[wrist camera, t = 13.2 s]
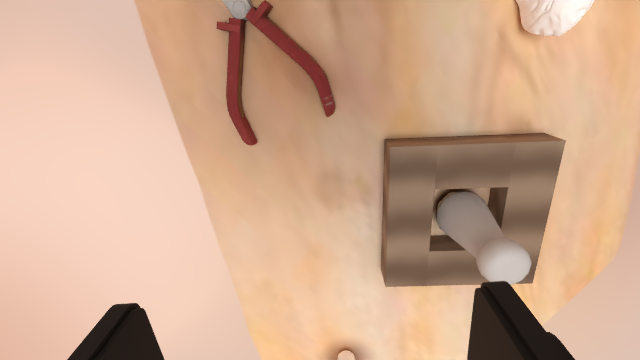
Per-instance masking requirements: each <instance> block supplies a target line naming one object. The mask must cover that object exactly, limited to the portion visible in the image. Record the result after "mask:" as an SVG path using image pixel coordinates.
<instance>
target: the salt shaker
mask: <svg viewBox="0 0 640 360" xmlns="http://www.w3.org/2000/svg"><path fill="white" fill-rule="evenodd" d="M436 218H437V222H438V224H439V227H440V229H441V230H442V231H443V232H445V233H446V234H447V235H448V236H450V237H451V238H452V239H453V240H454V241H456V242H457V243H458V244H459V245H461V246H462V247H463V248H464V249H465V250H467V251H468V252H469V253H470V254H472V255H473V256H474V257H475V258H476V263H477V266H478V269H479V271H480V273H481V275H482V276H484V277H485V278H486V279H487V280H488V281H490V282H494V281H506V282H508V283H509V284H510V285H512V284H516V283H517V282H519V281H521V280H523V279H524V277H525V276H526V275H527V274H528V273H529V270H530V267H531V264H532V263H531V259H530V256H529V254H528V252H527V251H526V250H525V249H524V248H523V247H522V246H521V245H520V244H519V243H518V242H516V241H515V240H513V239H509V238H505V236H504V234H503V233H502V231H501V229H500V227H499V226H498V224H497V222H496V220H495V219H494V217H493V215H492V213H491V212H490V210H489V208H488V206H487V205H486V203H485V201H484V200H482V199H481V198H480V197H479V196H478V195H477V194H475V193H471V192H466V191H462V192H449V193H448V194H447V195H446V196H445V197H444V198H443V199H442V200H441V201H440V202H439V203H438V208H437V215H436Z"/></svg>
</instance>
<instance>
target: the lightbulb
mask: <svg viewBox="0 0 640 360" xmlns="http://www.w3.org/2000/svg"><path fill="white" fill-rule="evenodd" d="M338 360H355V357H354V354H353V353H352V352H350V351H342V352H340V353H339V355H338Z"/></svg>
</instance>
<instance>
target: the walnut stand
mask: <svg viewBox="0 0 640 360" xmlns="http://www.w3.org/2000/svg"><path fill="white" fill-rule="evenodd" d="M564 145H565V140H562V139H560V138H557V137H554V136H551V135H548V134H545V133H536V134H510V135H484V136H457V137H431V138H405V139H385V151H384V186H383V221H382V256H381V271H382V275H383V279H384V283H385V286H386V287H397V286H440V285H481V284H482V283H483V282H490V281H488V280H487V279H486V278H485V277H484V276H482V275H481V273H480V271H479V269H478V266H477V263H476V258H475V257H474V256H473V255H472V254H470V253H469V252H468V251H467V250H465V249H464V248H463V247H462V246H461V245H459V244H458V243H457V242H456V241H454V240H453V239H452V238H451V237H450V236H448V235H447V236H430V235H431V224H432V213H433V202H434V190H435V189H464V188H491V192H490V198H489V204H488V208H489V210H490V212H491V213H492V215H493V217H494V219H495V220H496V222H497V224H498V226H499V227H500V229H501V231H502V233H503V234H504V236H505V238H509V239H513V240H515V241H516V242H518V243H519V244H520V245H521V246H522V247H523V248H524V249H525V250H526V251H527V252H528V254H529V256H530V259H531V263H532V264H531V267H530V270H529V273H528V274H527V275H526V276H525V277H524V279H523V280H521V281H519V282H517V283H516V284H525V283H533V279H534V274H535V270H536V266H537V261H538V257H539V253H540V249H541V244H542V240H543V236H544V231H545V227H546V223H547V218H548V214H549V210H550V206H551V201H552V197H553V193H554V188H555V184H556V180H557V176H558V171H559V167H560V163H561V158H562V154H563V150H564Z"/></svg>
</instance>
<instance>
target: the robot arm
mask: <svg viewBox="0 0 640 360" xmlns="http://www.w3.org/2000/svg"><path fill="white" fill-rule="evenodd" d="M68 360H164V357H163V355H162V352H161V350H160V347H159V345H158V342H157V340H156V337H155V335H154V332H153V330H152V327H151V324H150V322H149V319H148V317H147V314H146V312H145V310H144V309H143V308H140V306H139V305H138V304H137V303H130V304H116V305H113V306H112V307H111V308H110V309H109V310H108V311H107V312H106V314H105V315H104V316H103V317H102V319H101V320H100V321H99V322H98V323H97V324H96V326H95V327H94V328H93V329H92V331H91V332H90V333H89V334H88V335H87V336H86V338H85V339H84V340H83V341H82V343H81V344H80V345H79V346H78V347H77V349H76V350H75V351H74V352H73V353H72V355H71V356H70V357H69V358H68ZM467 360H575V359H574V358H573V357H572V355H571V354H570V353H569V352H568V350H567V349H566V348H565V346H564V345H563V344H562V343H561V341H560V340H559V339H558V338H557V337H556V336H555V335H553V334H552V333H550V332H546V331H545V330H544V328H543V327H542V326H541V324H540V323H539V322H538V321H537V319H536V318H535V317H534V315H533V314H532V313H531V311H530V310H529V309H528V308H527V306H526V305H525V304H524V302H523V301H522V300H521V298H520V297H519V296H518V295H517V293H516V292H515V291H514V289H513V288H512V287H511V285H510V284H509V283H508V282H506V281H494V282H483V283H482V284H481V288H476V290H475V295H474V303H473V312H472V321H471V330H470V339H469V348H468V357H467Z"/></svg>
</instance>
